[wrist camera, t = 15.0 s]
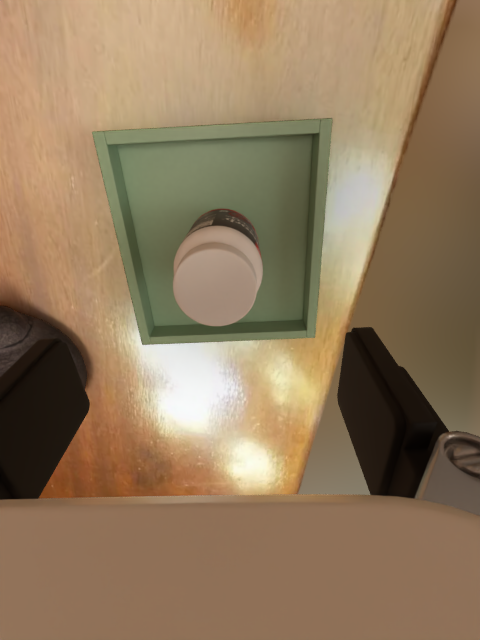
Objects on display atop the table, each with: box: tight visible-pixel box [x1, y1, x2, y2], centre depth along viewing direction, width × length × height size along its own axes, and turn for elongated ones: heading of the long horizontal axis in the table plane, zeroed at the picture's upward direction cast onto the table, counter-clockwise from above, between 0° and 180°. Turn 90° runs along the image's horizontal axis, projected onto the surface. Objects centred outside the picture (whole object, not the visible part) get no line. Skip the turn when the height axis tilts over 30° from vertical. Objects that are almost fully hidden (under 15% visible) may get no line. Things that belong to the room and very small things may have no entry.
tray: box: [92, 118, 332, 345], centre depth 25 cm, size 16×17×3 cm
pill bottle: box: [173, 209, 263, 326], centre depth 22 cm, size 6×6×10 cm
